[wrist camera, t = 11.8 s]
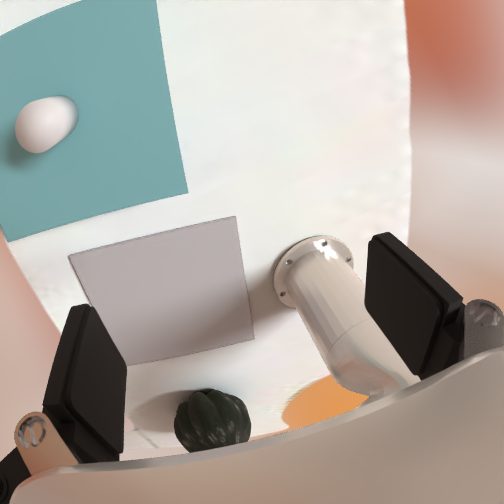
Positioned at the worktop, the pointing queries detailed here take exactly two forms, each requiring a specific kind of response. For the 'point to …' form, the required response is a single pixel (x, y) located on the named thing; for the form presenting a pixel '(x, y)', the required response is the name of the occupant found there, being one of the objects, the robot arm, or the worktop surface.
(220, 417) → the squash
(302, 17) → the worktop surface
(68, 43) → the lid
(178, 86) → the worktop surface
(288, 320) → the worktop surface
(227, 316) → the mat
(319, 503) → the robot arm
